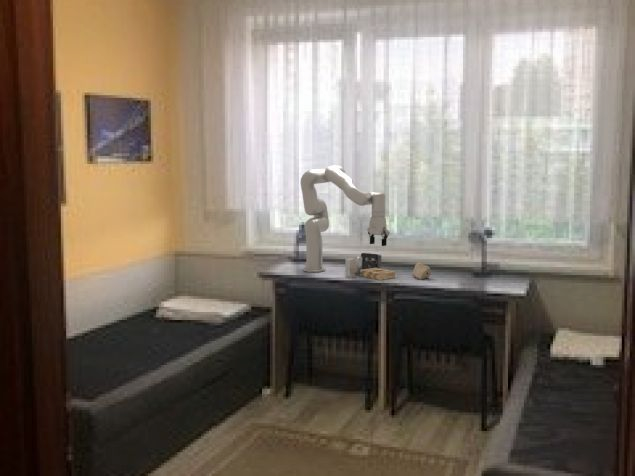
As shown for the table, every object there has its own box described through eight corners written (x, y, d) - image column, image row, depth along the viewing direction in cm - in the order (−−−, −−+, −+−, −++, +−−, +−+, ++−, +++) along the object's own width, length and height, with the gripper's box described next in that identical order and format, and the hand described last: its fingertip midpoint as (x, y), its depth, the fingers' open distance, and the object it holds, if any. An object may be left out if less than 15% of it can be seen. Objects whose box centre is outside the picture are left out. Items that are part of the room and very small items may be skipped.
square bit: (345, 276, 391) (345, 258, 390) (350, 275, 393) (350, 258, 392) (350, 277, 388) (350, 259, 386) (355, 276, 390) (355, 259, 389)
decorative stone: (420, 275, 394) (420, 260, 393) (432, 279, 381) (432, 265, 380) (407, 275, 392) (407, 261, 391) (419, 280, 378) (419, 265, 377)
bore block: (360, 275, 391) (360, 269, 391) (375, 273, 399) (376, 267, 398) (379, 280, 379) (379, 273, 378) (395, 277, 386) (395, 271, 386)
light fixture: (385, 270, 412) (386, 252, 411) (376, 272, 401) (377, 254, 400) (369, 269, 417) (369, 251, 416) (359, 271, 406) (360, 253, 405)
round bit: (353, 274, 397) (353, 257, 396) (358, 273, 400) (359, 256, 398) (358, 275, 394) (358, 257, 393) (363, 274, 397) (363, 257, 395)
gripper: (363, 213, 388) (362, 243, 391) (384, 216, 375) (383, 247, 377) (372, 213, 393) (372, 242, 395) (393, 215, 379) (393, 245, 382)
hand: (378, 244), depth 386 cm, fingers open, 9 cm apart
